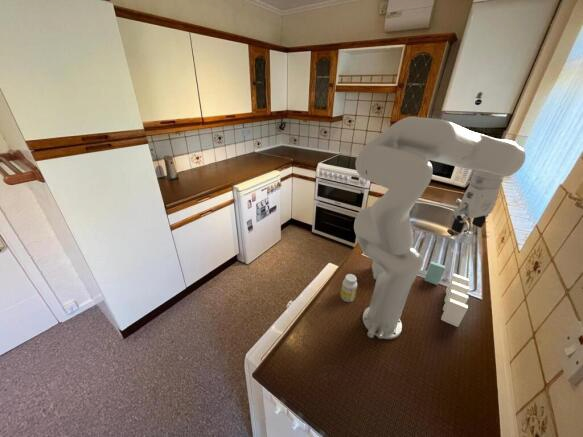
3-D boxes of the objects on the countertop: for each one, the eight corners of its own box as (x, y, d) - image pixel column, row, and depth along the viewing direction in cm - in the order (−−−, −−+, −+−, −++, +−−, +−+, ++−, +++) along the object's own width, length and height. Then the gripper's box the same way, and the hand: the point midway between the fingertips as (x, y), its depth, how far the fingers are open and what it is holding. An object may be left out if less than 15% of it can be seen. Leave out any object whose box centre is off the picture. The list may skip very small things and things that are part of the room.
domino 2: (460, 299, 90) (469, 281, 86) (445, 293, 93) (453, 275, 89) (460, 296, 92) (469, 278, 87) (445, 290, 94) (453, 273, 90)
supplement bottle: (344, 303, 88) (348, 284, 83) (337, 293, 92) (340, 274, 87) (357, 300, 89) (361, 281, 84) (350, 290, 94) (353, 271, 89)
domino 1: (437, 285, 97) (444, 268, 92) (424, 280, 99) (430, 263, 95) (438, 283, 98) (445, 266, 93) (424, 278, 100) (431, 261, 96)
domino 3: (459, 307, 87) (468, 289, 82) (444, 301, 89) (452, 283, 85) (459, 304, 88) (468, 286, 84) (444, 298, 90) (452, 280, 86)
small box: (387, 281, 98) (393, 261, 93) (373, 279, 99) (378, 259, 94) (384, 268, 105) (389, 249, 100) (371, 267, 106) (376, 247, 101)
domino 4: (458, 317, 83) (468, 298, 79) (442, 310, 86) (450, 292, 81) (459, 313, 84) (468, 295, 80) (443, 307, 87) (451, 289, 82)
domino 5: (457, 327, 80) (467, 308, 75) (440, 319, 82) (449, 301, 78) (458, 323, 81) (467, 305, 76) (441, 316, 83) (450, 298, 79)
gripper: (477, 189, 68) (457, 238, 77) (518, 181, 73) (495, 229, 81) (454, 180, 74) (438, 227, 83) (492, 174, 79) (474, 219, 88)
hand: (466, 228), depth 82 cm, fingers open, 9 cm apart
